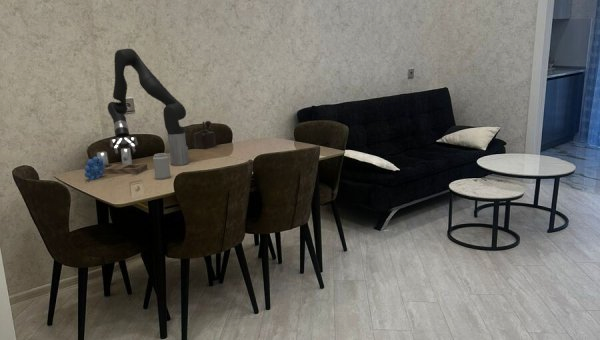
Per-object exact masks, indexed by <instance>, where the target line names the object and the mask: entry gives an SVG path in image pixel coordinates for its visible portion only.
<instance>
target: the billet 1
mask: <svg viewBox="0 0 600 340" xmlns="http://www.w3.org/2000/svg"><path fill="white" fill-rule="evenodd" d="M96 156H97V157H98V159H99V158H102V159H103V163H104V164H105V168H107V167H109V164H110V163H109V158H108V157H109V156H108V152H107V151H98V152H96Z"/></svg>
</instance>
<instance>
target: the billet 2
mask: <svg viewBox="0 0 600 340" xmlns="http://www.w3.org/2000/svg"><path fill="white" fill-rule="evenodd" d="M131 153H132V152H131V147H122V148H120V155H121V162H122V163H121V164H133V161H132V160H133V158H132V154H131Z"/></svg>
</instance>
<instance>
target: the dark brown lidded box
mask: <svg viewBox="0 0 600 340" xmlns="http://www.w3.org/2000/svg"><path fill="white" fill-rule="evenodd" d="M211 125H212V122H211V121H210V120H206V121H202V129H201V130H199V131H198V132H194V133H192V137H193V147H194V149H199V150H200V149H203V150H207V149H212V148H215V147H217V139H216V138H217V137H216V135H217V134H216V132H214V131H209V130H210V129H211V128H212V127H211ZM205 128H206V129H205ZM208 129H209V130H208Z"/></svg>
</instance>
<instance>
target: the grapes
mask: <svg viewBox="0 0 600 340" xmlns="http://www.w3.org/2000/svg"><path fill="white" fill-rule="evenodd" d="M104 168H105V164H104V163H103V159H102V158H99V159H98V157H97V155H96V156H93V157H92V158H89V159H88V160H87V163H86V165H85V166H84V172H85V173H84V177H85V178H86V179H87V178H88V180H89V181H93V180H99V179H100V177H101V176H103V175H105V174H104V171H103V170H102V169H104Z"/></svg>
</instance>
